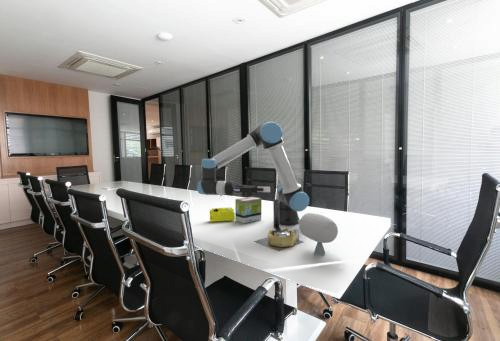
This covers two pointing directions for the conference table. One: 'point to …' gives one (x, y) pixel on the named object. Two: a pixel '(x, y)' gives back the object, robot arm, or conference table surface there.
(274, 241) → the tan base with handle
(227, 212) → the yellow toy chassis
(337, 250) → the conference table surface
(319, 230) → the grey oval on stand
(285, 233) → the plate
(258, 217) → the tea box
